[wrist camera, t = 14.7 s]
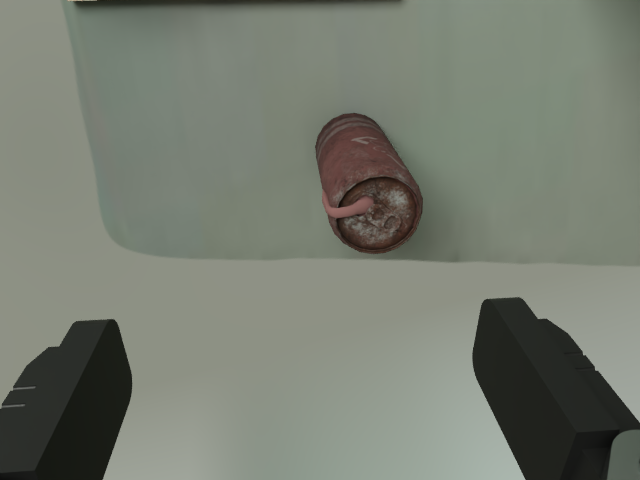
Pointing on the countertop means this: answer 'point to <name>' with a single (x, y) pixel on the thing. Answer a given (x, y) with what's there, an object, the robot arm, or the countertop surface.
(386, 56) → the countertop surface
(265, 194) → the countertop surface
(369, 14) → the countertop surface
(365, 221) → the can
